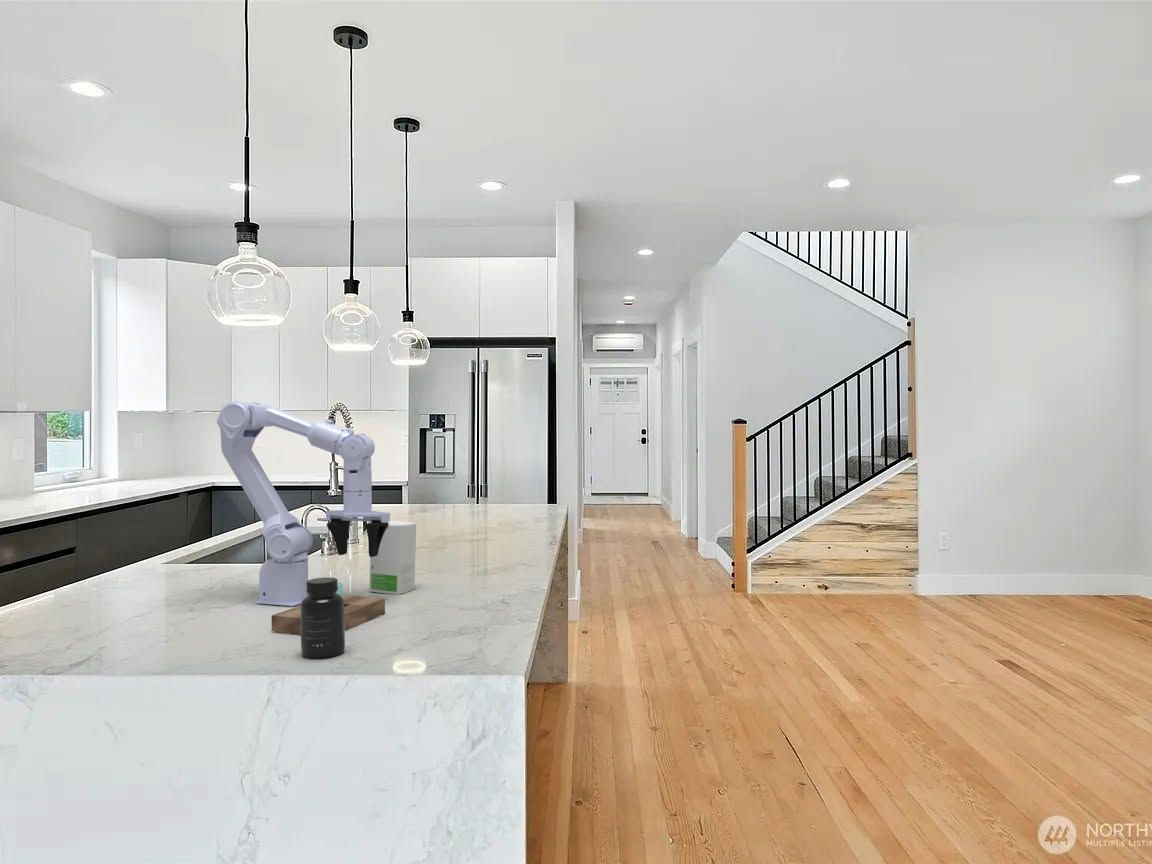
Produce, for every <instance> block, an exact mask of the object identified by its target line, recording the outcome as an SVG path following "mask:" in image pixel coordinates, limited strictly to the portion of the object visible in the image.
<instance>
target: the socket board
mask: <svg viewBox="0 0 1152 864" xmlns="http://www.w3.org/2000/svg"><path fill="white" fill-rule="evenodd" d="M343 599H344V617H345V631H347V630H350V629H352V628H354V626H355V627H357V626H359V625H362V624H364V623H366V621H367V622H368V620H369V621H371V620H374V619H375V617H376V618H378V617H380V616H379V615H381V616H382V614H383V615H385V614H386V599H385V598H382V597H380V598H379V597H370V596H369V597H368V596H358V595H357V596H355V595H343ZM384 613H385V614H384ZM377 616H378V617H377ZM373 618H374V619H373ZM370 619H371V620H370ZM363 622H364V623H363ZM361 623H362V624H361ZM272 631H274V632H273V633H275V632H282V633H281V634H285V633H290V634H289V635H295V634H297V635H298V636H301V615H300V605H299V606H298V605H297V606H296V607H295V606H294V607H293V608H290V609H287V610H284V611H281V612H277V613H275V614H272V615H271V632H272Z"/></svg>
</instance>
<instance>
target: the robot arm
mask: <svg viewBox="0 0 1152 864" xmlns="http://www.w3.org/2000/svg"><path fill="white" fill-rule="evenodd" d="M216 424H217V425H218V427H219V430H220V445H221V452H222V455H223V457H224V459H225V460H226V462H227V464H228V466H229V467H230V468H231V471H233V474H234V475H235V478H236V479H237V480H238V482H239V484H240V486H241V487H242V489H243V491H244V493H245V495H246V496H247V498H248V499H249V501H250V503H251V505H252V507H253V509H255V511H256V513H257V515H258V516H259V518H260V520H261V521H262V523H263V528H262V533H261V534H262V535H263V538H264V540H265V543H266V545H265V546H266V552H267V554H268V556H270V557H271V558H269V559H267V560H265V561H264V562H263V563H262V564H261V567H260V569H259V574H258V575H259V576H258V577H259V578H258V579H259V580H258V581H259V582H258V583H259V584H258V585H259V586H258V587H259V589H258V590H259V599H258V600H257V601H256V603H257V604H262V605H275V606H287V607H295V606H296V607H297V606H298V605H299V606H300V605H301V602H302V600H303V599H304V598H305V597H307V596H308V593H306V589H307V581H308V580H309V555H308V551H310V549H311V548H312V545H313V539H314V538H313V534H312V533H311V531H310V530H309V528H307V527H306V526H304V525H302V524H301V522H300V520H299V519H298V518H297V517H296V516H295V515H293V514H292V513H290V512H289V510H288V509H287V508H286V506H285V505H284V502H283V501H282V499H281V497H280V495H279V494H278V492H277V490H276V489H275V487H274V486H273V484H272V482H271V481H270V478H269V477H268V475H267V473H266V472H265V470H264V468H263V467H262V465H261V463H260V461H259V460H258V458H257V456H256V455H255V453H254V452H253V446H254V443H255V441H256V439H257V437H258V436H259V435H260V434H261V433H262V431H263V430H264V429H265V428H267V427H276V428H279V429H282V430H285V431H288V432H291V433H294V434H297V435H300V436H303V437H305V438H306V439H307V441H308V442H309V444H310V446H313V447H316V448H317V449H321V450H323V451H325V452H329V453H331V454H334V455H337V456H339V457H341V458H342V460H343V469H342V471H343V473H342V474H343V478H342V479H343V480H342V481H343V491H342V492H343V510H332V509H331V510H326V511H325V521H329V522H326V528H327V529H328V530H329V532H330V534H331V535H332V538H333V541H334V544H335V547H336V551H337V555H338V556H343V555H346V554H347V553H348V539H349V538H348V537H349V531H350V526H351V522H353V521H354V522H368V523H365V524H364V526H365V530H366V533H367V540H368V556H369V558H370V557H374V556H377V555H378V551H379V547H380V543H381V540H382V537H383V535H384V533H385V531H386V529H387V527H388V525H389V523H388V522H390V521H391V512H389V511H387V512H386V511H378V510H372V509H373V507H372V506H373V505H372V500H373V499H372V498H373V497H372V495H373V494H372V493H373V492H372V491H373V490H372V487H373V486H372V482H373V481H372V477H373V476H372V470H373V469H372V456H373V455H374V454H375V450H376V447H375V446H376V445H375V441H374V440H373V439H372V437H370V436H368V435H366V433H356V434H355V433H354V432H355V430H354V429H353V428H347V429H346V428H343V427H341V426H338V425H337V424H334V420H332V419H325V420H322V419H321V420H318V421H316V422H311V421H308V420H306V419H305V418H304V419H303V418H301V417H299V416H297V415H295V414H292V413H289V412H287V411H284V410H283V409H280V408H277V407H275V406H270V405H266V404H261V403H259V402H254V401H253V402H242V401H238V400H232V401H229V402H227V403H225V404H224V405H223V406H222V407H221V410H220V411H219V415H218V417H217V419H216Z"/></svg>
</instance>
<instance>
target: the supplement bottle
mask: <svg viewBox="0 0 1152 864" xmlns="http://www.w3.org/2000/svg"><path fill="white" fill-rule="evenodd" d="M338 583H339V582H338V579H337V578H336V577H328V576H327V577H325V576H324V577H317V578H311V579H308V581H307V589H306V593H308V596H307V597H305V598H304V599H303V600H302V602H301V604H299V606H300V615H301V635H300V651H301V655H302V656H303V657H304V658H306V659H312V660H322V659H329V658H334V657H337V656H339V655H341V654H343V652H344V650H345V649H346V634H345V633H346V630H345V617H344V599H343V598H342V596H340V595H339V594H337V593H336V591H338Z"/></svg>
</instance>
